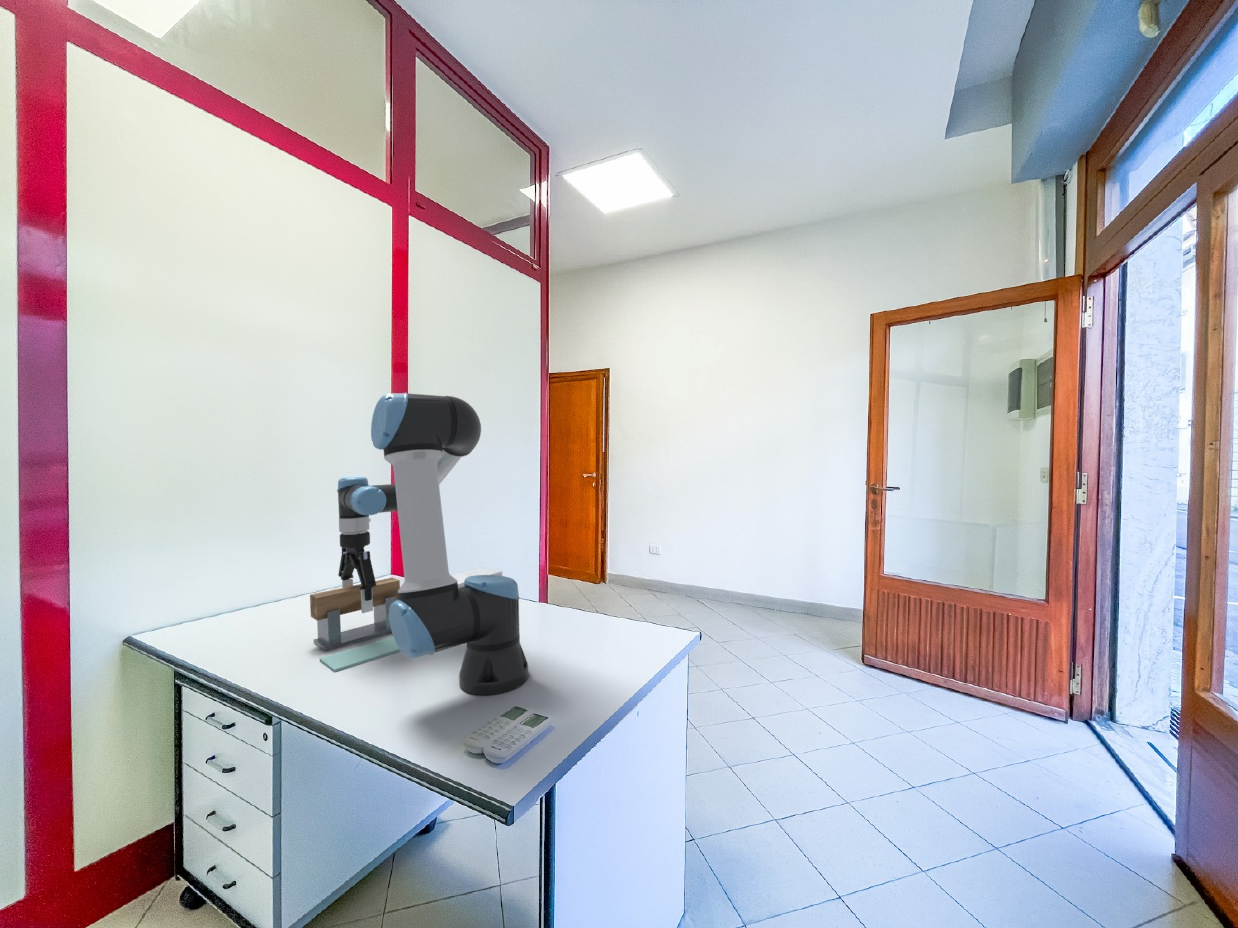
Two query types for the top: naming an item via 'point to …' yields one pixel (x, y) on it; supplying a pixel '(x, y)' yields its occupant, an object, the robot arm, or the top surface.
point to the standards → (335, 638)
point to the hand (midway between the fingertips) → (357, 606)
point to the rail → (351, 598)
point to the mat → (360, 654)
